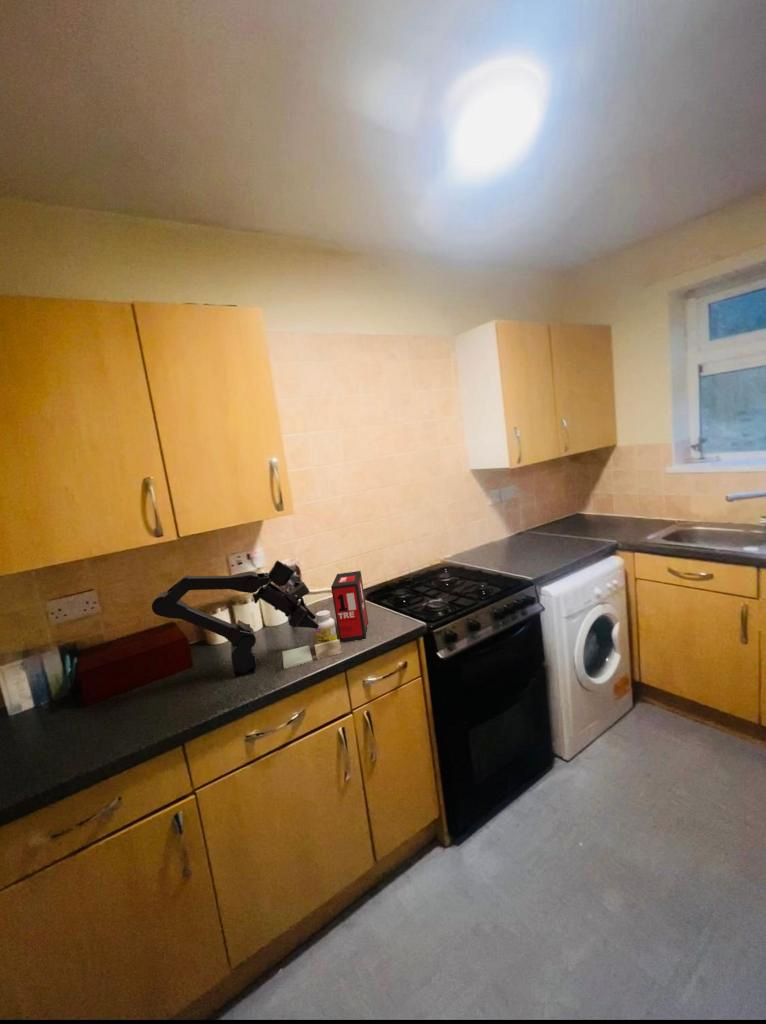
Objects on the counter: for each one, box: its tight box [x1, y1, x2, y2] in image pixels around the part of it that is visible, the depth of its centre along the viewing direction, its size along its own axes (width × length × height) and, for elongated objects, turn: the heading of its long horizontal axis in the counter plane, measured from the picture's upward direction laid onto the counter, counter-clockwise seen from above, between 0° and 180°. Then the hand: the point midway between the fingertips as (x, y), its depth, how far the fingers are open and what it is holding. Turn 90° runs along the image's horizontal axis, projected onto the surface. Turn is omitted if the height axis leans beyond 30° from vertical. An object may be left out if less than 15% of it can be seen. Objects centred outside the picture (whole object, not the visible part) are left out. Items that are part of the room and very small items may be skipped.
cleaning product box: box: [330, 570, 369, 643], centre depth 158 cm, size 16×9×20 cm, turn 179°
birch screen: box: [314, 638, 342, 660], centre depth 142 cm, size 8×1×4 cm, turn 105°
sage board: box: [281, 645, 314, 670], centre depth 144 cm, size 9×12×1 cm
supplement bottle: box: [314, 609, 338, 645], centre depth 146 cm, size 7×7×13 cm
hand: (316, 622), depth 145 cm, fingers open, 9 cm apart
